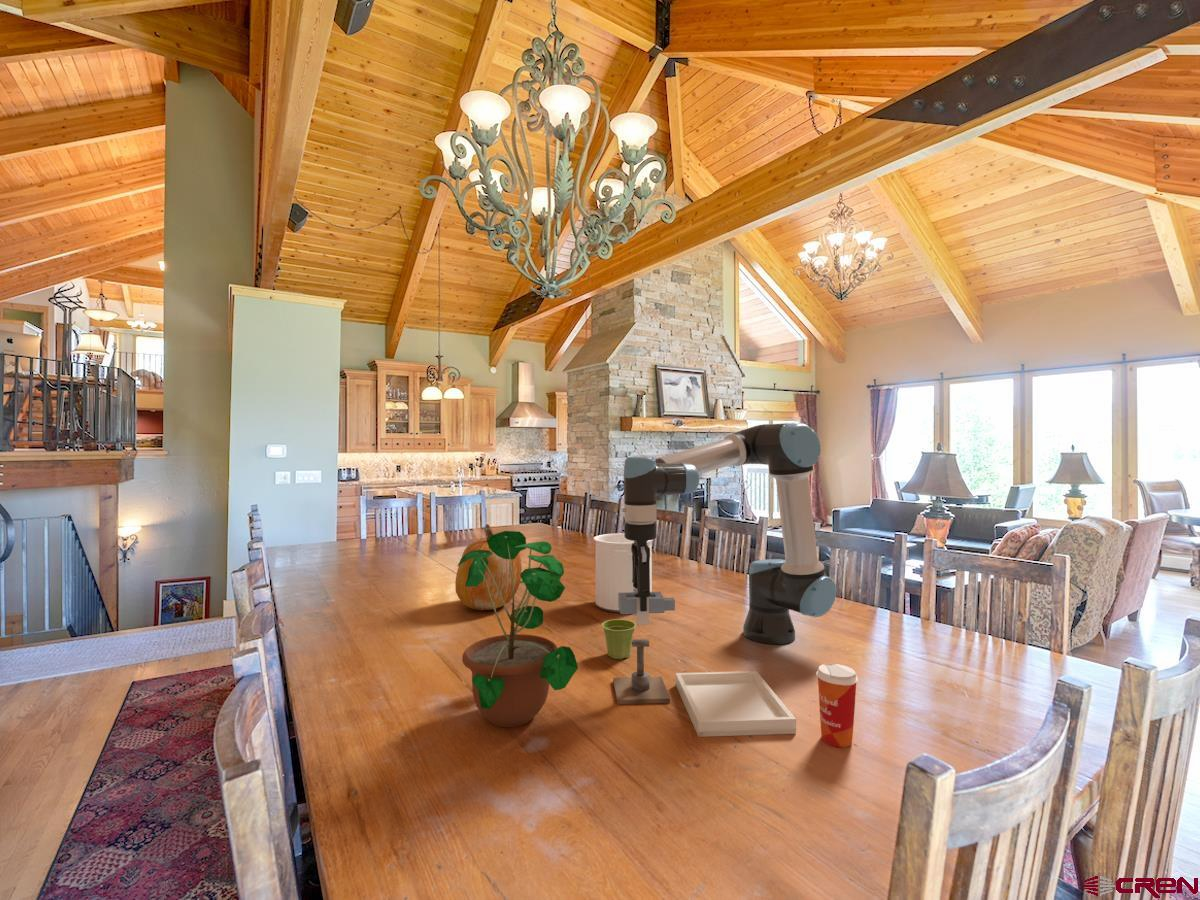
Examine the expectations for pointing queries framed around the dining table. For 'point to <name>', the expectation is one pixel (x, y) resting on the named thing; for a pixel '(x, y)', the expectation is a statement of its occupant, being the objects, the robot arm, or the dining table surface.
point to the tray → (733, 704)
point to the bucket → (614, 569)
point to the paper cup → (837, 703)
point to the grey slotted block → (656, 603)
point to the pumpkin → (488, 578)
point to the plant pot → (618, 637)
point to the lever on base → (640, 683)
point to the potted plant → (517, 639)
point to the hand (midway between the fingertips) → (641, 619)
